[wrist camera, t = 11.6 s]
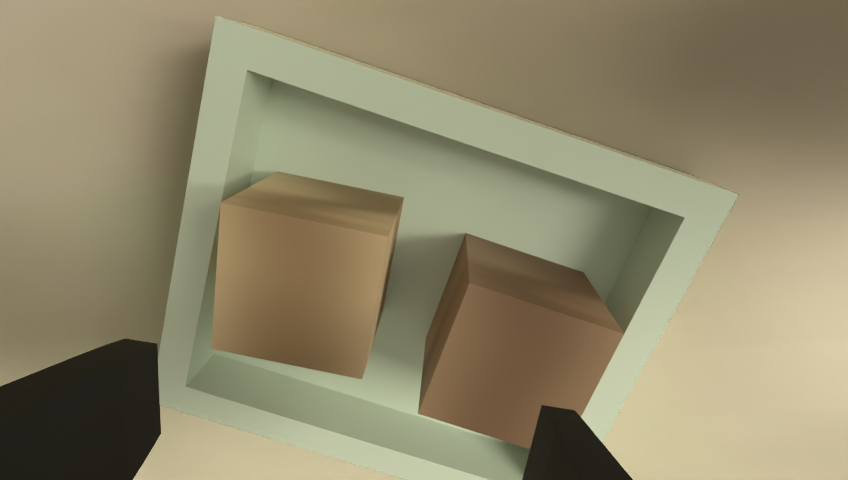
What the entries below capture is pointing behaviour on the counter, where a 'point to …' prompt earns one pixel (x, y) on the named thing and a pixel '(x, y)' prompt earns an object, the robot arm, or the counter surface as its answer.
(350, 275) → the block
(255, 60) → the tray
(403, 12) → the counter surface
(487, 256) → the block
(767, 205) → the counter surface
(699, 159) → the counter surface
